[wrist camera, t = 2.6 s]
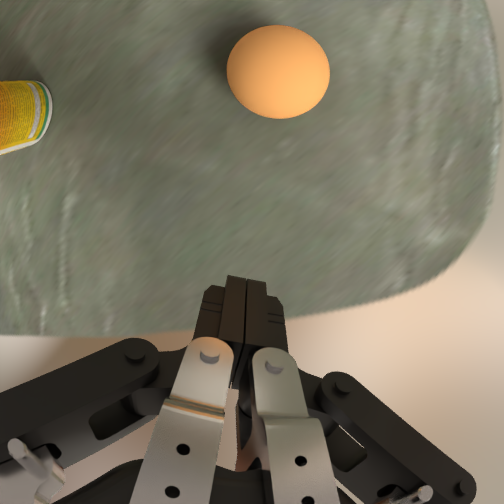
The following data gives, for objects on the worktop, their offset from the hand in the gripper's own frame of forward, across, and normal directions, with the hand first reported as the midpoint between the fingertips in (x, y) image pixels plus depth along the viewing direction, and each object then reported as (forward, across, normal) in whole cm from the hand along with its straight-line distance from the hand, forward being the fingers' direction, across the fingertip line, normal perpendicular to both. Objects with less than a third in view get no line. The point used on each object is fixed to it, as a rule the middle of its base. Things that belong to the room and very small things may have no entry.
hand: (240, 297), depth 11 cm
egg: (+7, 0, -10) cm, 12 cm away
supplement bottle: (+9, +18, -6) cm, 21 cm away
